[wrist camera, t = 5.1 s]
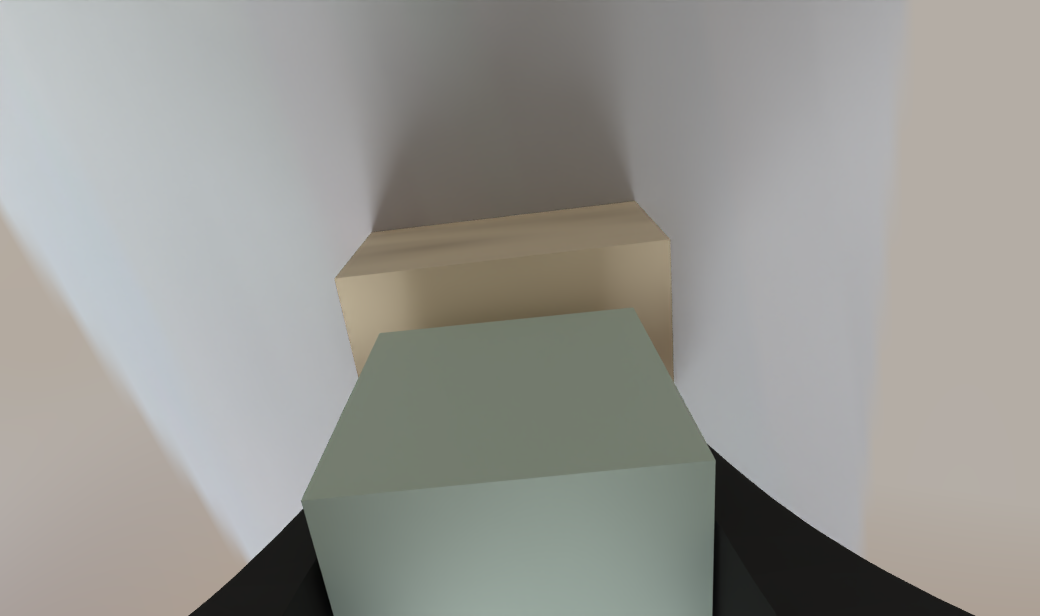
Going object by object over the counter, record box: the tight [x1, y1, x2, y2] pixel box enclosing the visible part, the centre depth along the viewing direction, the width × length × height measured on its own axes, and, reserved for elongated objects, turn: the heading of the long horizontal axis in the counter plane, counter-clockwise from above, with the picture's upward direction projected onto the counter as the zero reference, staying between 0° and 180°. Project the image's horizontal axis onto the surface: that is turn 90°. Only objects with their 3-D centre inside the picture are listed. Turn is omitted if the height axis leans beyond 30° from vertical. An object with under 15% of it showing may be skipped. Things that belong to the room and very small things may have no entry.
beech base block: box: [335, 201, 674, 382], centre depth 16 cm, size 7×7×4 cm
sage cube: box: [301, 307, 716, 616], centre depth 11 cm, size 5×5×5 cm
